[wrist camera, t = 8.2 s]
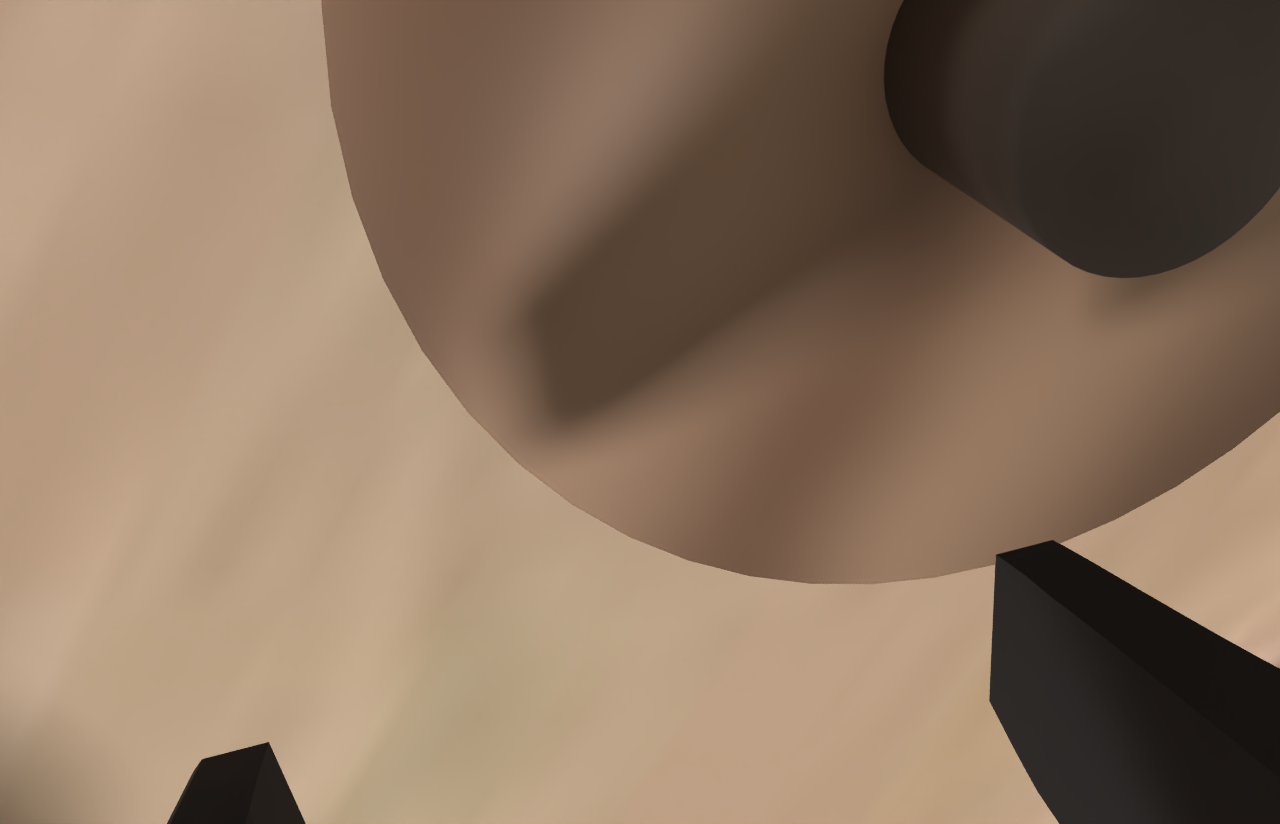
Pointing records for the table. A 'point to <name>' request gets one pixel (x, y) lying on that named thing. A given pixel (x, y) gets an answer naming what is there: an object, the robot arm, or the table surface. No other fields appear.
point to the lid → (831, 257)
